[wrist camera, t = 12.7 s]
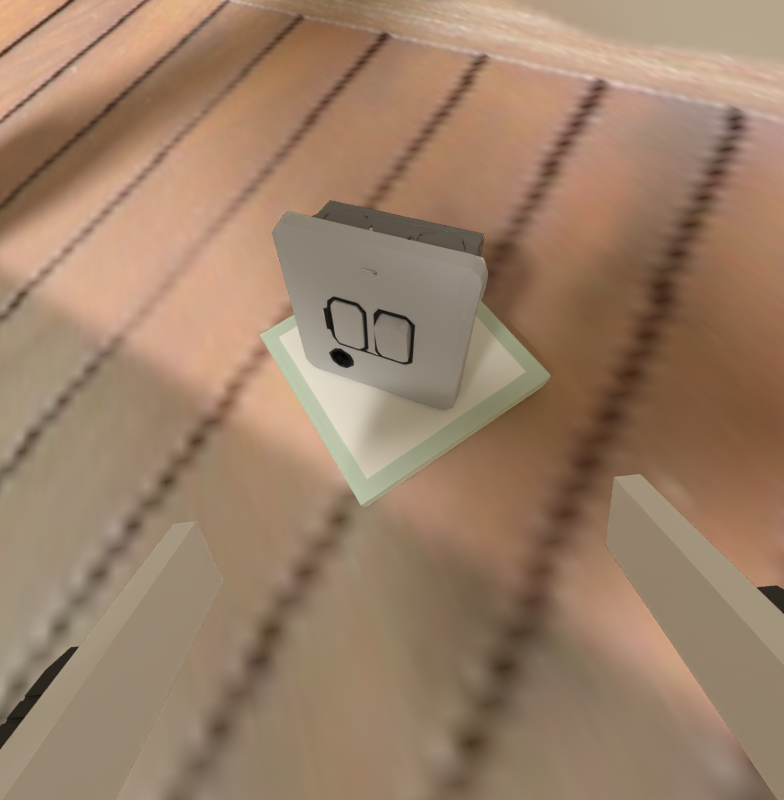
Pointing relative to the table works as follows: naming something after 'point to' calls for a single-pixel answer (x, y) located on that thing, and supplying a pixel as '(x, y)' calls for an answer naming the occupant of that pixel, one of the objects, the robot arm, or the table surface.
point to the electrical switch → (383, 297)
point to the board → (405, 406)
